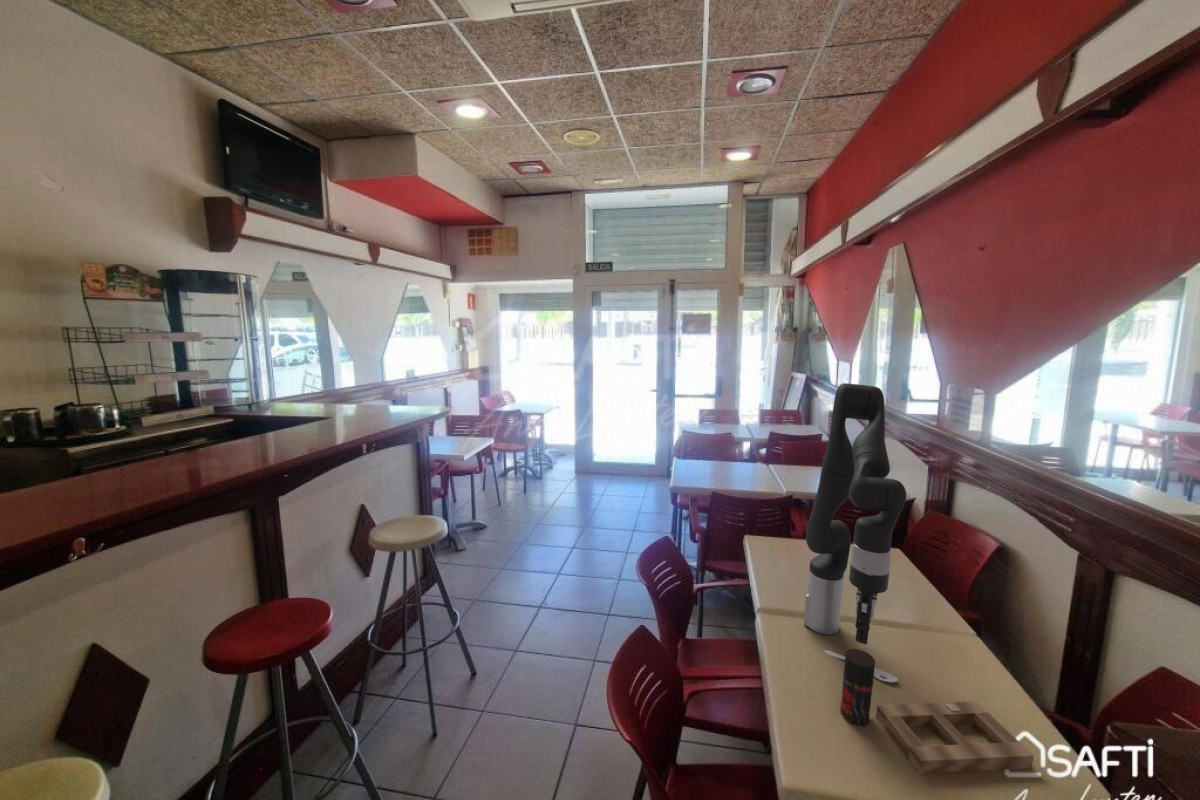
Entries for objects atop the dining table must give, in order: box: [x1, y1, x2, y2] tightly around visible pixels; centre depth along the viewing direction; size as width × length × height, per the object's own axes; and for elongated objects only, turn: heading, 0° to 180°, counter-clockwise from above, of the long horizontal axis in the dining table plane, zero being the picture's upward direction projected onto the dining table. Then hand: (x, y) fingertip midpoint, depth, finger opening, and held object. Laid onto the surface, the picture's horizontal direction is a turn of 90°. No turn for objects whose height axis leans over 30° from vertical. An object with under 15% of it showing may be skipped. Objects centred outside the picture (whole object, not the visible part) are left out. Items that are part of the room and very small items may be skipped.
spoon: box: [823, 649, 900, 683], centre depth 126 cm, size 4×21×2 cm, turn 46°
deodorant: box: [839, 648, 876, 727], centre depth 108 cm, size 6×6×15 cm
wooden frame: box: [875, 700, 1035, 775], centre depth 102 cm, size 24×14×3 cm, turn 93°
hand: (863, 631), depth 106 cm, fingers open, 8 cm apart
